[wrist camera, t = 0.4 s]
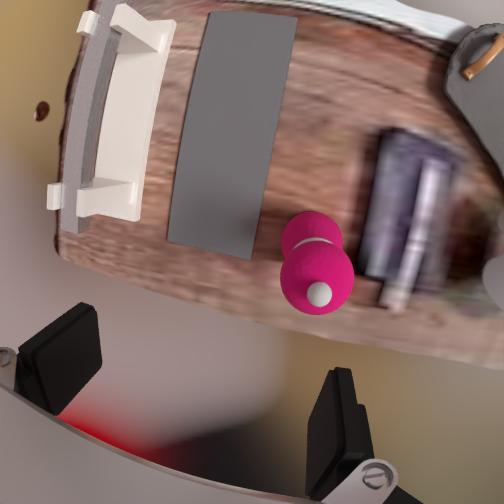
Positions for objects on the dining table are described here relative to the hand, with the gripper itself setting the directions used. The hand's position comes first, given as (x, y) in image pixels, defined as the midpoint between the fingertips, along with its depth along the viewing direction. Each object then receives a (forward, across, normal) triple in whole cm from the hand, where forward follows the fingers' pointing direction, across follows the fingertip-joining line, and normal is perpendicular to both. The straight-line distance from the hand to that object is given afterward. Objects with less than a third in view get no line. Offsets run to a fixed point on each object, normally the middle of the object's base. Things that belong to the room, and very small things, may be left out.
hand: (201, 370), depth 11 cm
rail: (+21, +22, -12) cm, 33 cm away
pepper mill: (+31, -5, +1) cm, 31 cm away
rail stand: (+30, +22, -12) cm, 40 cm away
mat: (+30, +8, -12) cm, 33 cm away
